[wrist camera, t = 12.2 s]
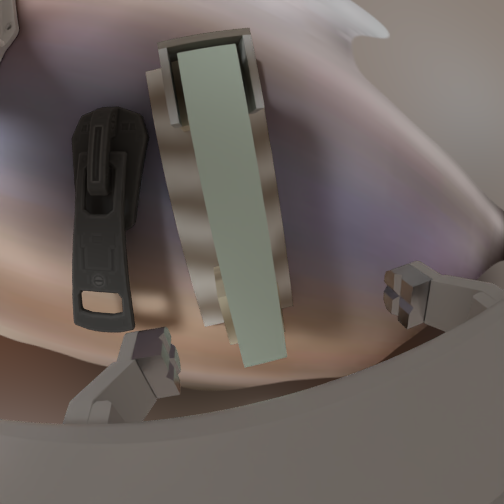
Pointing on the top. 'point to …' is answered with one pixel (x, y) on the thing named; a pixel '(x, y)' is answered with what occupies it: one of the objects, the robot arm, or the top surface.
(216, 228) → the rail
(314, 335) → the top surface
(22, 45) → the top surface
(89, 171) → the zipper pull
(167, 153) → the rail posts
